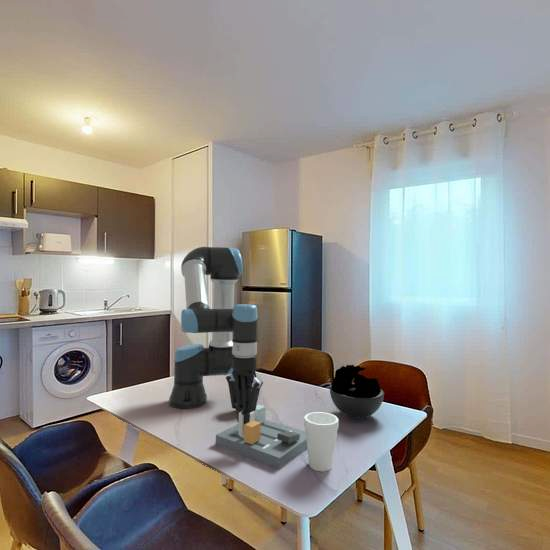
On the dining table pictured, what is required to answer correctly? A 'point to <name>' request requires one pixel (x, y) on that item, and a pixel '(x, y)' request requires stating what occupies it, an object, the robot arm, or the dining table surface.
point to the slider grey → (260, 413)
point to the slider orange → (252, 432)
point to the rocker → (288, 436)
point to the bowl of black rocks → (355, 392)
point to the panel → (265, 444)
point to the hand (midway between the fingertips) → (243, 433)
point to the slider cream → (252, 416)
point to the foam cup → (321, 439)
